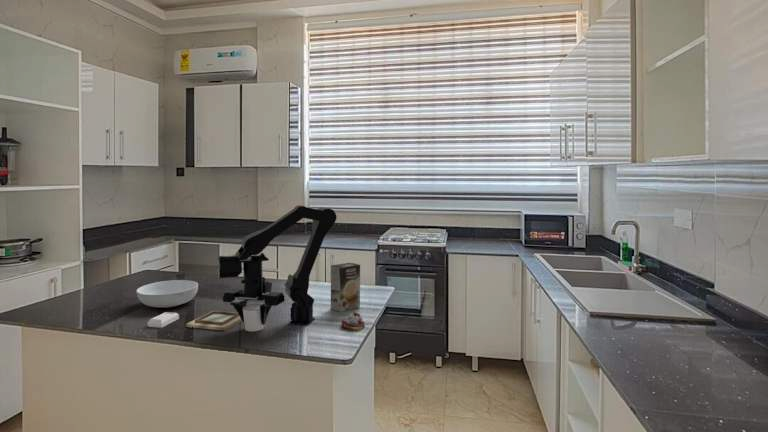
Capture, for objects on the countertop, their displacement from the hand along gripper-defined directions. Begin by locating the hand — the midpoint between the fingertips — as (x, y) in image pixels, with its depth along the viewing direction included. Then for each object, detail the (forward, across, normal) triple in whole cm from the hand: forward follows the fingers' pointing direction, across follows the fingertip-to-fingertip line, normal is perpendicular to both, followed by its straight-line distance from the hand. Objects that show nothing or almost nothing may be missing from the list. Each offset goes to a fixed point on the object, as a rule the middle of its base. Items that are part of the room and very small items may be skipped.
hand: (254, 323), depth 140 cm
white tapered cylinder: (+2, 0, 0) cm, 2 cm away
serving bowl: (+2, +45, -16) cm, 48 cm away
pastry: (+2, -30, -10) cm, 31 cm away
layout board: (+2, +15, -3) cm, 15 cm away
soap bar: (+2, +32, +2) cm, 32 cm away
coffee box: (+2, -21, -28) cm, 35 cm away
